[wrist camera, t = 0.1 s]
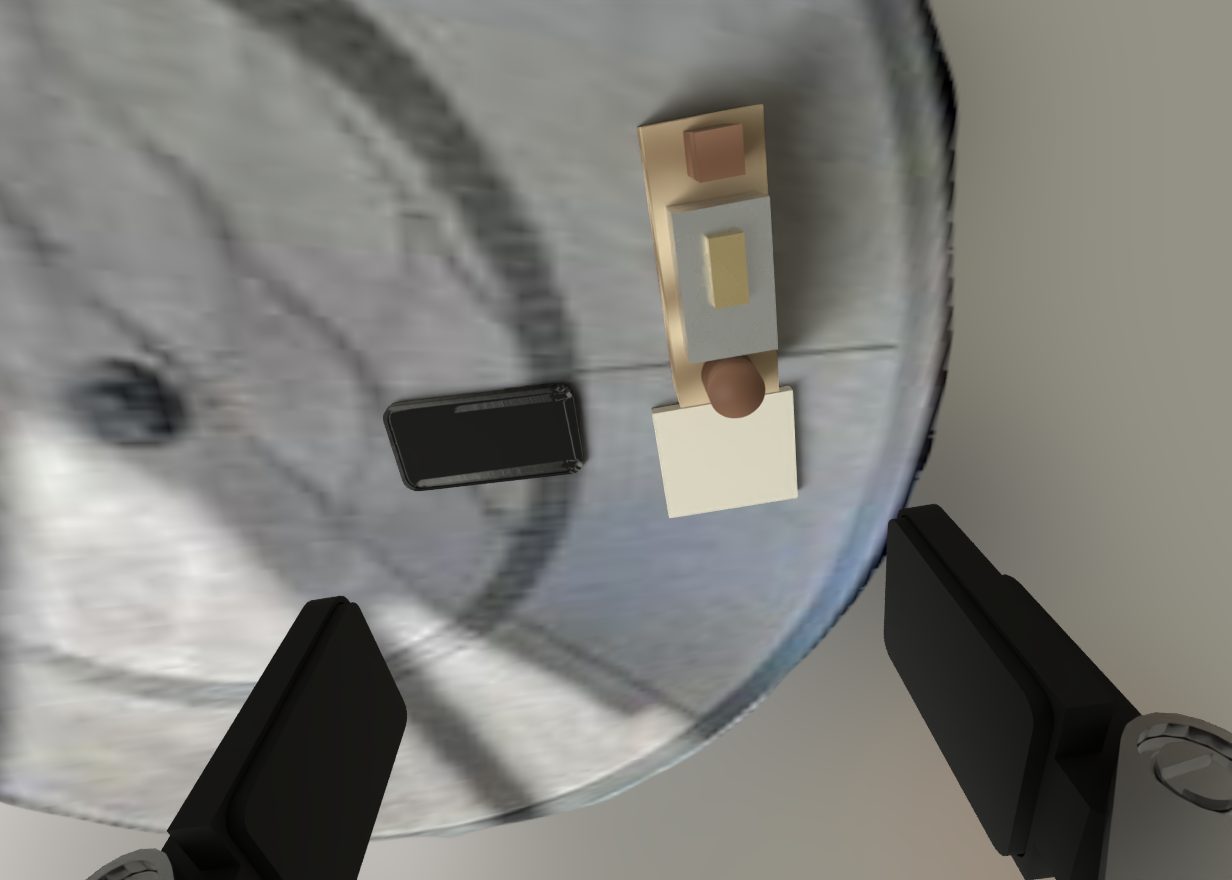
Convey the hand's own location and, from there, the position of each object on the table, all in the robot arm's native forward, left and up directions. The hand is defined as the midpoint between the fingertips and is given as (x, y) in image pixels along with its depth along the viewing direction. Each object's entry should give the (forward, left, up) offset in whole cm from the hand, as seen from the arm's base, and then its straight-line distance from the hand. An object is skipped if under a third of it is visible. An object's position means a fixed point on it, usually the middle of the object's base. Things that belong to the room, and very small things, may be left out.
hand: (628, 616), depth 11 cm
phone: (+13, -12, -37) cm, 41 cm away
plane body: (+2, +7, -37) cm, 37 cm away
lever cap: (+2, +7, -32) cm, 32 cm away
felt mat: (+18, +7, -37) cm, 41 cm away
